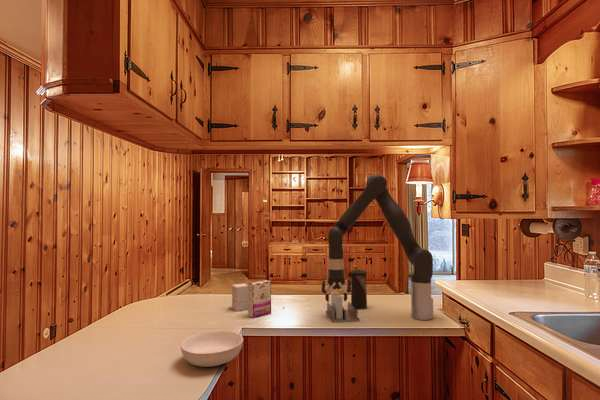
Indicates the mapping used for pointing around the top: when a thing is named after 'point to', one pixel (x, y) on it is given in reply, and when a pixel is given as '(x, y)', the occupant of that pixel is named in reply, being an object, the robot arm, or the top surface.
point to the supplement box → (240, 297)
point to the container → (358, 289)
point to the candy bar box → (259, 298)
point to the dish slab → (337, 304)
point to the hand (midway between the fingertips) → (336, 301)
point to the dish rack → (348, 315)
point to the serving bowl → (211, 347)
